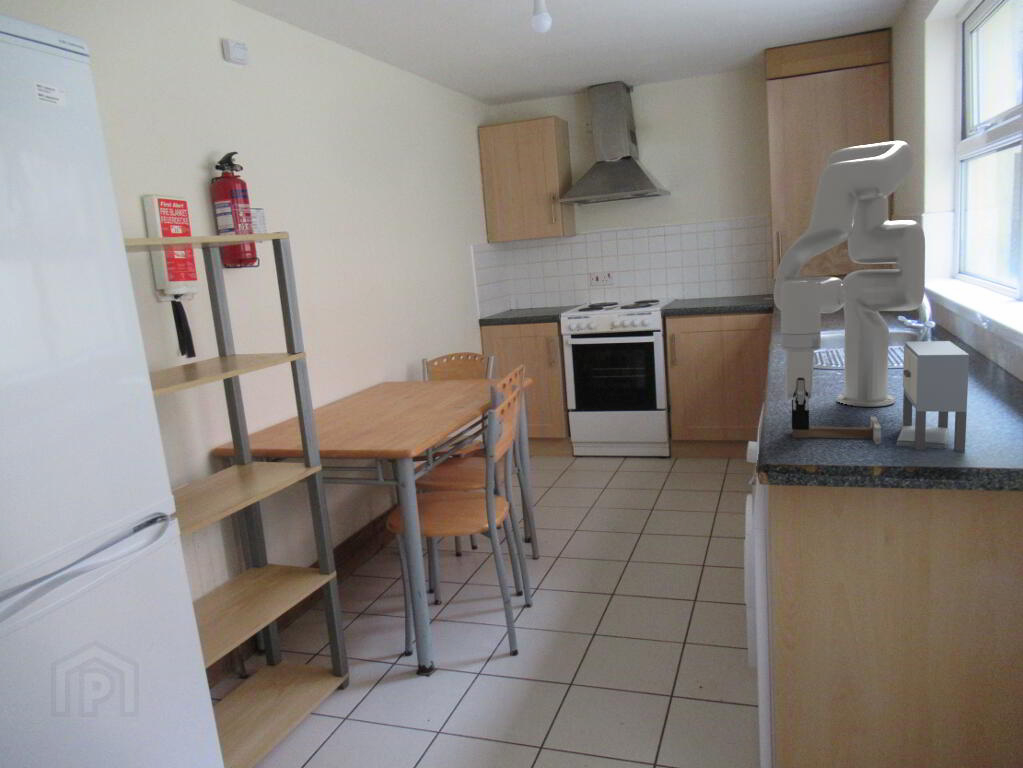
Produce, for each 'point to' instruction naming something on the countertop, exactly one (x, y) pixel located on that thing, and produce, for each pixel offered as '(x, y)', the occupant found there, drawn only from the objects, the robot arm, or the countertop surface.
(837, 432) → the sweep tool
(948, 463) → the countertop surface
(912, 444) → the hard drive
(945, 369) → the cabinet
